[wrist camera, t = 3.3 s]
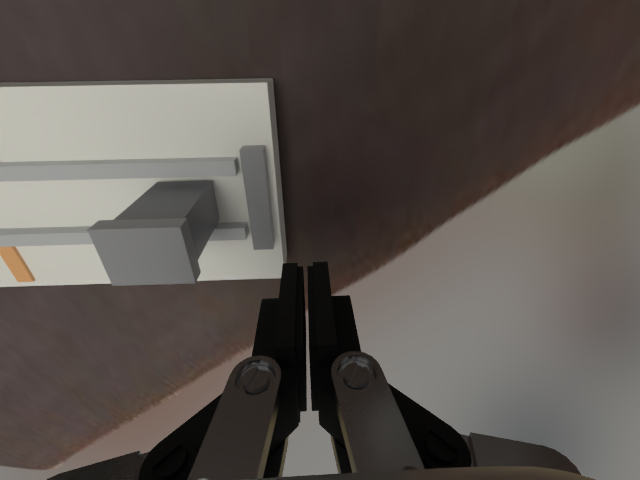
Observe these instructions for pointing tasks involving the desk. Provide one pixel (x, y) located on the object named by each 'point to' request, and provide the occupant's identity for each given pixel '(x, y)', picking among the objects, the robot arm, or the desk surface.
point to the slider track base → (135, 171)
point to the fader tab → (158, 235)
